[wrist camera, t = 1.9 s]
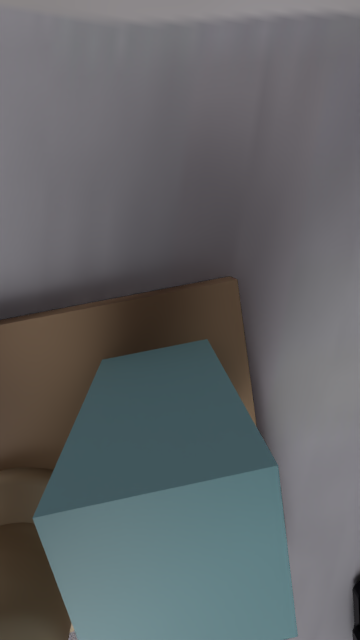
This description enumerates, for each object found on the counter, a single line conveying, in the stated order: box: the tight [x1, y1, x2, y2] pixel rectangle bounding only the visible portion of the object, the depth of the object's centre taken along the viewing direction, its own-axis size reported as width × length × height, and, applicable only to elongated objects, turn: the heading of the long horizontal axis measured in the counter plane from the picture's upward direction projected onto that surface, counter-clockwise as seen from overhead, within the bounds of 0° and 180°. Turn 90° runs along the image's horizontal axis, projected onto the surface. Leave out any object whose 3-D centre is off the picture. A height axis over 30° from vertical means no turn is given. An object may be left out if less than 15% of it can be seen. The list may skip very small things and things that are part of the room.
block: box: [33, 339, 298, 640], centre depth 8 cm, size 4×4×6 cm
